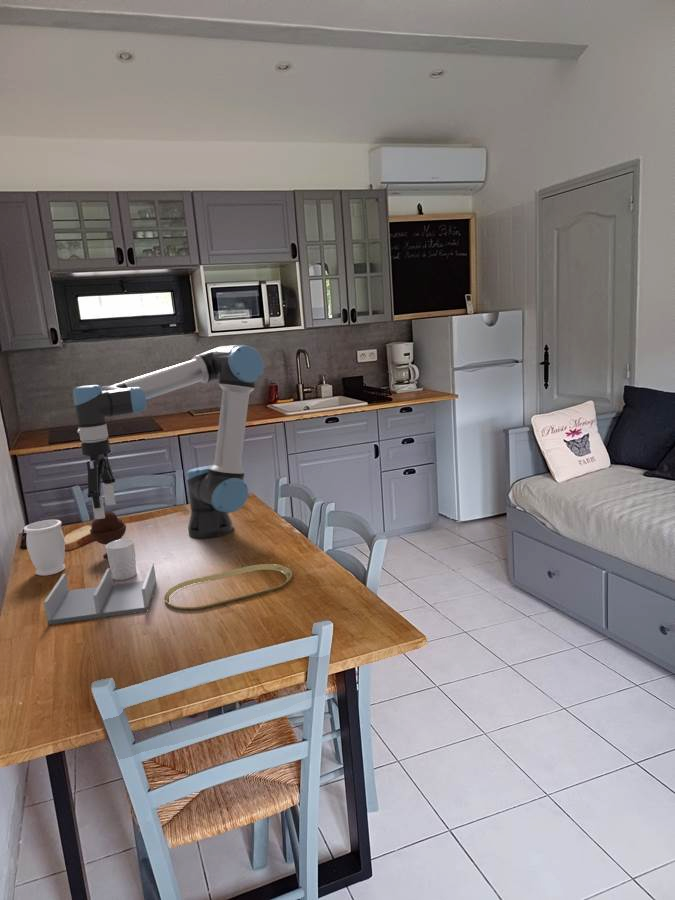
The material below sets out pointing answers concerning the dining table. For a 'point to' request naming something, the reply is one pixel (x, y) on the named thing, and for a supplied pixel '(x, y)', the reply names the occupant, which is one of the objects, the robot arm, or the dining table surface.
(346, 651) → the dining table surface
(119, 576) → the white cup
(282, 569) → the brass oval ring
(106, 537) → the ice cream bowl
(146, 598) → the dish rack
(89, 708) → the dining table surface
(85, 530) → the slice of bread
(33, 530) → the jar
